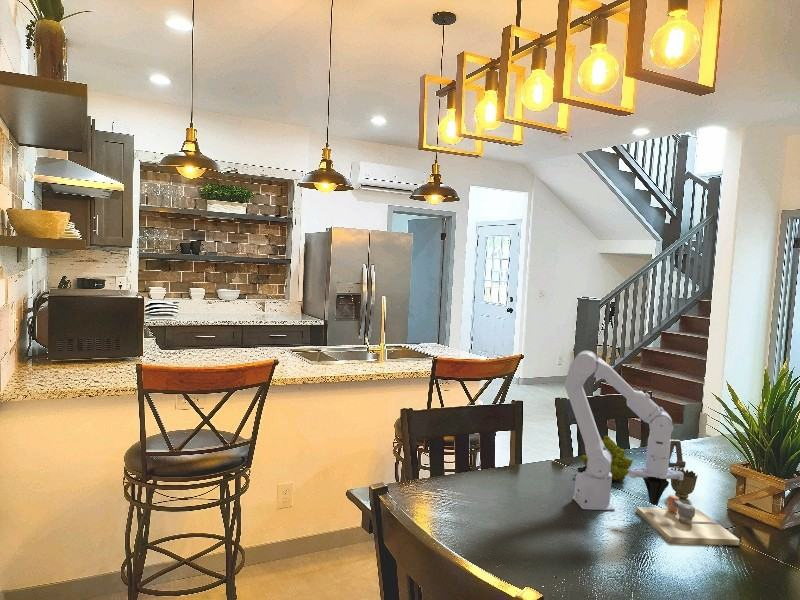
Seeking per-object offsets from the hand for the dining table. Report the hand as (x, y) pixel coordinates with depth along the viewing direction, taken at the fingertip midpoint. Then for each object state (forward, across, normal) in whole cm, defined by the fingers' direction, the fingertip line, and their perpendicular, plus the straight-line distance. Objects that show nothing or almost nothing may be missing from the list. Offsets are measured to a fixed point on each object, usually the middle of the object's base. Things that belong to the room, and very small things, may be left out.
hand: (653, 503), depth 159 cm
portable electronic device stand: (+4, +30, +46) cm, 55 cm away
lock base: (+4, +6, -6) cm, 9 cm away
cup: (+4, +17, +14) cm, 22 cm away
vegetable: (+4, -1, +29) cm, 29 cm away
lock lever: (+1, +6, -4) cm, 7 cm away
